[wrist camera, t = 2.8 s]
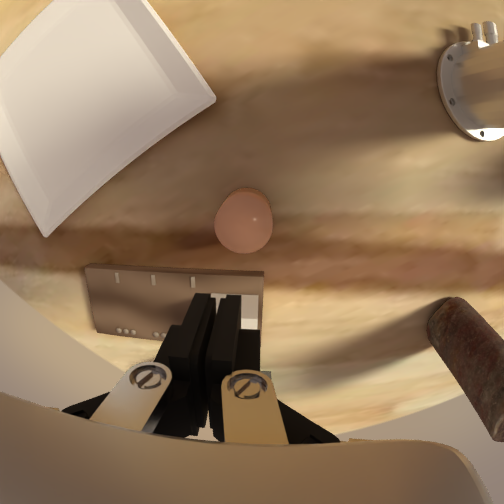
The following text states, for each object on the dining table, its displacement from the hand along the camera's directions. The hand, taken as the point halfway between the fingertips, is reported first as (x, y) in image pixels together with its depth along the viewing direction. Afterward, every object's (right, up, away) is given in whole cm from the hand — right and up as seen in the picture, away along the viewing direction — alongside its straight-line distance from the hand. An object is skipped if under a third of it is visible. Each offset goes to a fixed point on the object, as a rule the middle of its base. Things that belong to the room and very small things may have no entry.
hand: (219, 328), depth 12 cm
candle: (+27, -6, +25) cm, 37 cm away
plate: (-20, +22, +17) cm, 34 cm away
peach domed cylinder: (+1, +7, +21) cm, 22 cm away
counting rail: (-8, -3, +25) cm, 26 cm away
